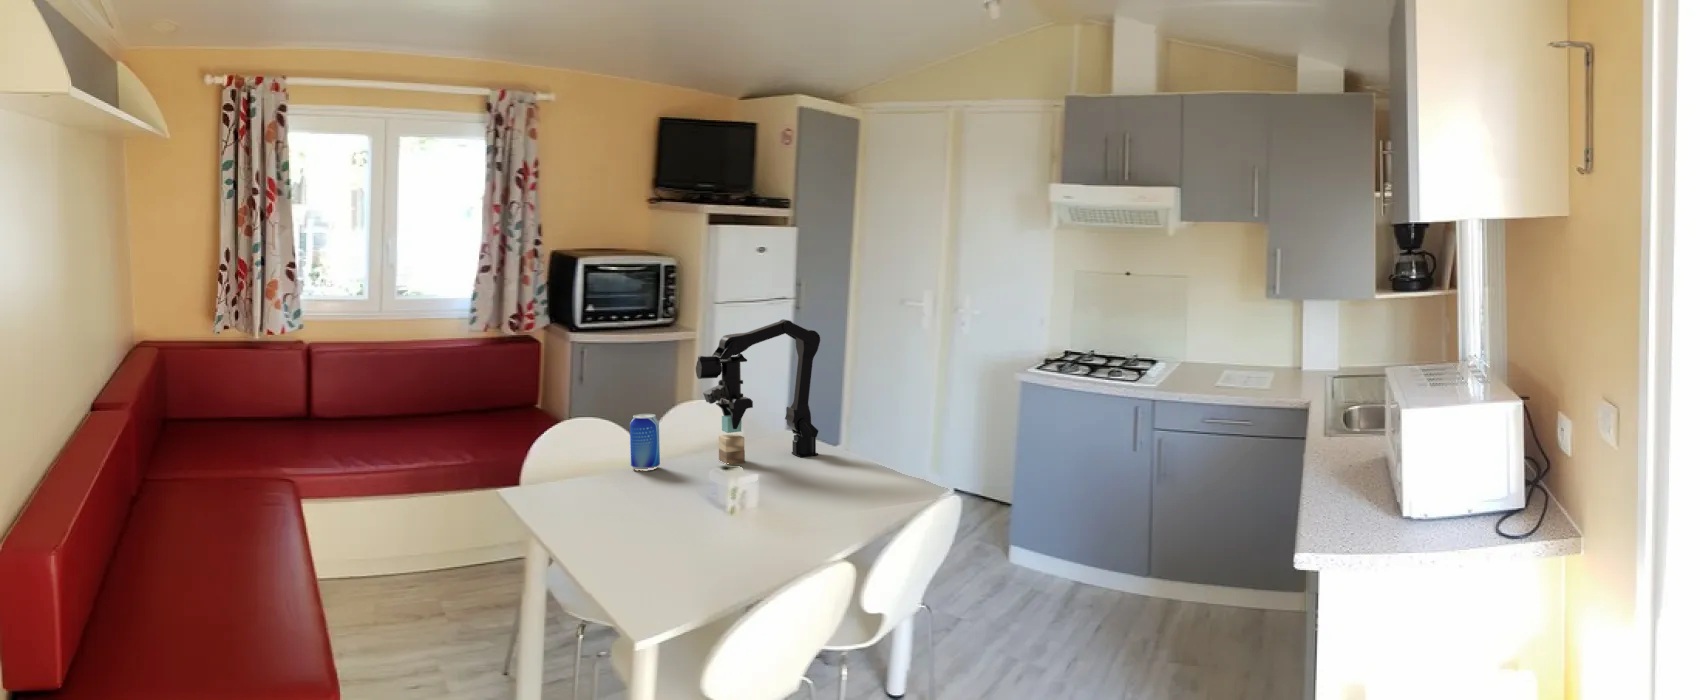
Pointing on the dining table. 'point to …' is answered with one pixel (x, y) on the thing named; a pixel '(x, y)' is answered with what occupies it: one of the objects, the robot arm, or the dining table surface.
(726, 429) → the teal cube
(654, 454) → the beer can
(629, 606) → the dining table surface
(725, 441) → the tower top
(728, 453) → the tower base
